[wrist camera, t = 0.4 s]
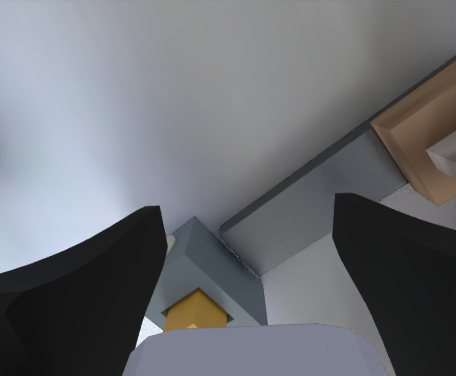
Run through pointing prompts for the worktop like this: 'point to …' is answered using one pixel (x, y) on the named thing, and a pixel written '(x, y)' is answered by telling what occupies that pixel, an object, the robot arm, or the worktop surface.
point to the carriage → (425, 136)
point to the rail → (315, 196)
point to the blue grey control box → (206, 278)
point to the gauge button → (195, 312)
